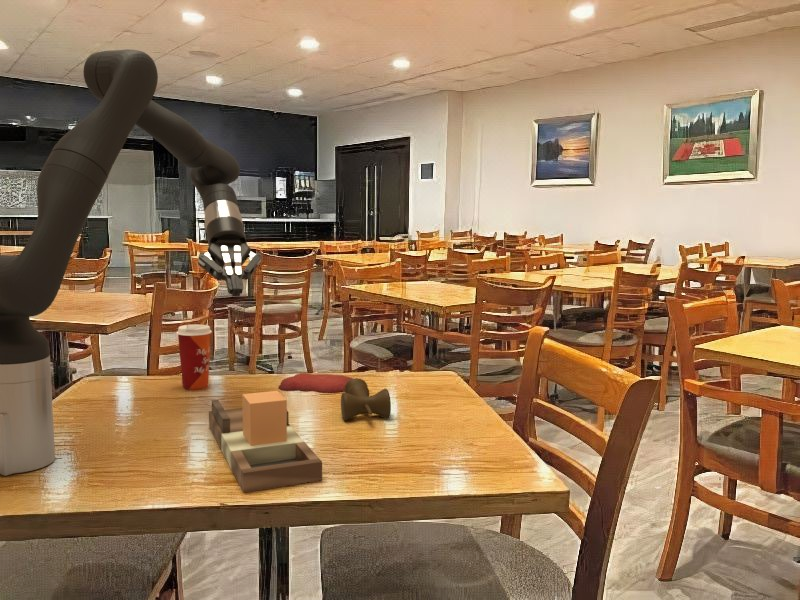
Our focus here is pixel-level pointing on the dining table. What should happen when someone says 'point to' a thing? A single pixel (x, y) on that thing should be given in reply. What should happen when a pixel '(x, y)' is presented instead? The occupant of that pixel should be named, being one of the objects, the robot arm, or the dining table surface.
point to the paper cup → (194, 355)
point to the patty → (315, 383)
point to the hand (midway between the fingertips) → (236, 293)
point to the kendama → (363, 400)
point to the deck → (262, 454)
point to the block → (264, 417)
